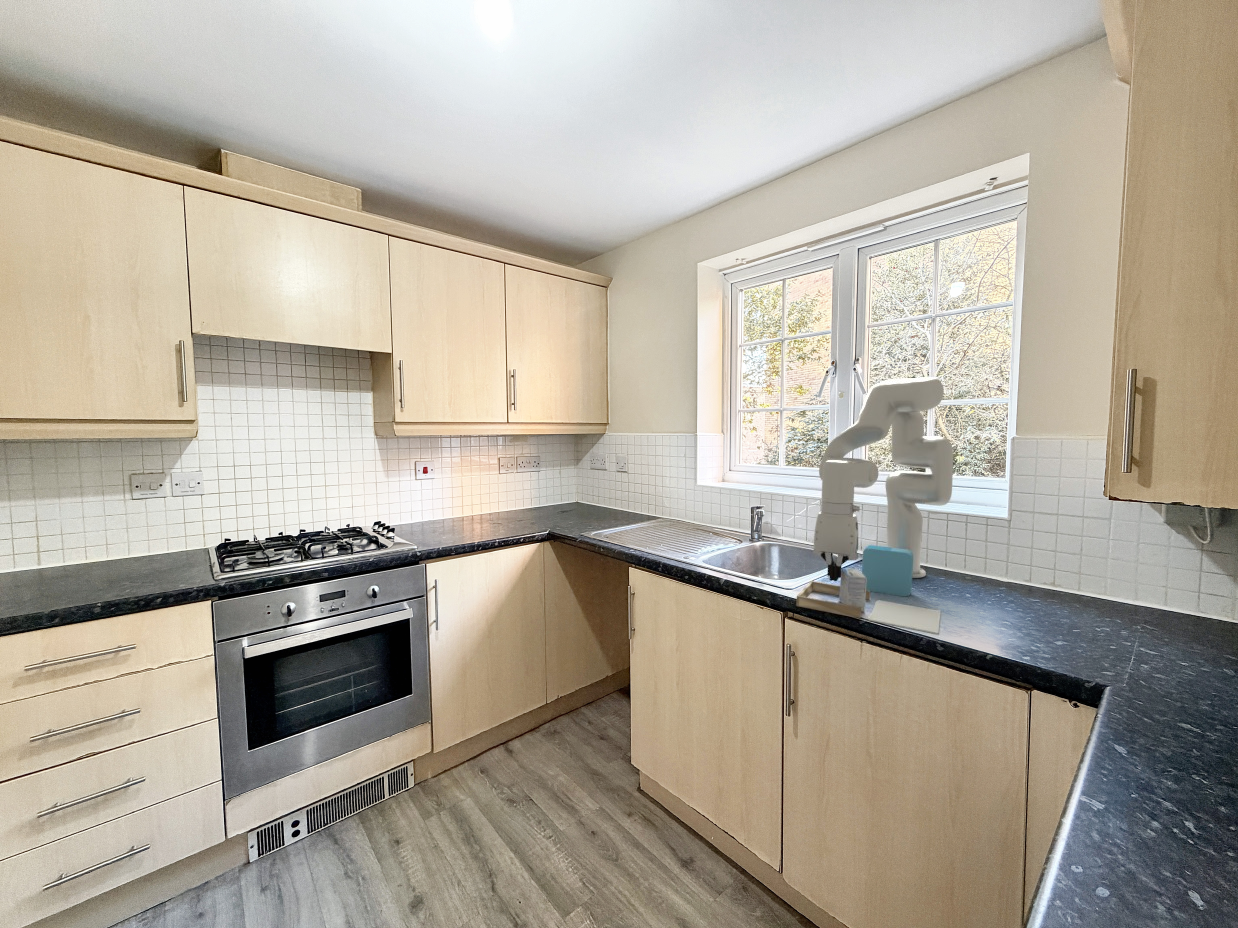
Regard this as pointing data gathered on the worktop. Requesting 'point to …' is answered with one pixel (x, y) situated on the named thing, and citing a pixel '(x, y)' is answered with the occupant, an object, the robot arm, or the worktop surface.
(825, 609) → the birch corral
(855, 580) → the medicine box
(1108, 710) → the worktop surface
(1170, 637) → the worktop surface
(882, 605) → the cream flat board
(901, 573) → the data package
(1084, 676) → the worktop surface
